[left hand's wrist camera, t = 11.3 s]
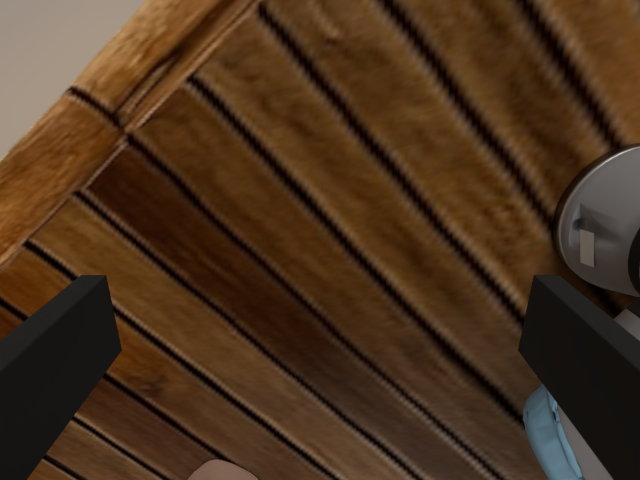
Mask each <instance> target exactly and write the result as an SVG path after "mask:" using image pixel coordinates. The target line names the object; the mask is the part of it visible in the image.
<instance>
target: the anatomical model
mask: <svg viewBox="0 0 640 480" xmlns="http://www.w3.org/2000/svg"><path fill="white" fill-rule="evenodd" d="M188 480H258V479H257V478H256V477H255V476H254V475H253V474H251V473H250V472H248V471H247V470H245V469H243V468H241V467H239V466H237V465H234V464H232V463H229V462H226V461H223V460H218V459H214V460H210V461H208V462H206V463H204V464H203V465H202V466H200V467H199V468H198V469H197V470H196V471H194V472H193V473H192V475H191V476H190V477H189V478H188Z"/></svg>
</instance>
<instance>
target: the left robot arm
mask: <svg viewBox="0 0 640 480" xmlns="http://www.w3.org/2000/svg"><path fill="white" fill-rule="evenodd" d="M553 235H554V243H555V246H556V250H557V252H558V254H559V256H560V258H561V260H562V261H563V262H564V264H565V265H566V266H567V267H568V268H569V269H570V270H571V271H573V272H574V273H575V274H577V275H578V276H579V277H581V278H582V279H584V280H585V281H587V282H589V283H591V284H594V285H596V286H598V287H601V288H604V289H608V290H612V291H616V292H620V293H624V294H628V295H632V296H636V297H639V298H637V299H636V300H635V301H634V302H633V303H632V304H631V305H630V306H628V307H627V308H626V309H624V310H623V311H622V312H621V313H620V314H619V315H618V316H617V317H615V318H614V319H612V318H611V317H610V316H608V315H607V314H606V313H605V312H603V311H602V310H601V309H600V308H599V307H597V306H596V305H595V304H594V303H592V302H591V301H590V300H589V299H587V298H586V297H585V296H584V295H583V294H581V293H580V292H579V291H578V290H576V289H575V288H574V287H573V286H572V285H570V284H569V283H568V282H567V281H565V280H564V279H563V278H562V277H560V276H559V275H534V277H533V282H532V287H531V292H530V296H529V301H528V306H527V311H526V315H525V320H524V325H523V330H522V334H521V339H520V344H519V349H518V351H519V352H520V353H521V355H522V356H523V358H524V359H525V360H526V362H527V363H528V364H529V366H530V367H531V368H532V370H533V371H534V372H535V374H536V375H537V377H538V378H539V379H540V381H541V382H542V384H541V385H540V386H539V387H538V388H537V389H536V390H535V391H534V392H533V393H532V394H531V395H530V396H529V397H528V399H527V400H526V402H525V405H524V409H523V421H524V424H525V431H526V434H527V437H528V440H529V443H530V445H531V448H532V450H533V452H534V454H535V456H536V458H537V460H538V462H539V464H540V466H541V467H542V469H543V471H544V473H545V474H546V476H547V477H548V479H549V480H640V143H636V144H631V145H627V146H624V147H621V148H618V149H615V150H613V151H611V152H609V153H607V154H605V155H603V156H601V157H600V158H598V159H597V160H595V161H594V162H592V163H591V164H590V165H588V166H587V167H586V168H585V169H584V170H583V171H582V172H581V173H580V174H579V175H578V176H577V177H576V178H575V179H574V180H573V182H572V183H571V184H570V186H569V187H568V188H567V190H566V191H565V193H564V195H563V197H562V199H561V201H560V203H559V205H558V208H557V211H556V215H555V219H554V227H553ZM121 351H122V349H121V344H120V339H119V334H118V330H117V325H116V320H115V315H114V311H113V306H112V301H111V296H110V292H109V287H108V282H107V277H106V275H81V276H80V277H78V278H77V279H76V280H75V281H73V282H72V283H71V284H70V285H68V286H67V287H66V288H65V289H64V290H62V291H61V292H60V293H59V294H57V295H56V296H55V297H54V298H53V299H51V300H50V301H49V302H48V303H46V304H45V305H44V306H43V307H41V308H40V309H39V310H38V311H37V312H35V313H34V314H33V315H32V316H30V317H29V318H28V319H27V320H25V321H24V322H23V323H22V324H21V325H19V326H18V327H17V328H16V329H14V330H13V331H12V332H11V333H9V334H8V335H7V336H6V337H5V338H3V339H2V340H1V341H0V480H27V478H28V477H29V476H30V474H31V473H32V472H33V470H34V469H35V468H36V466H37V465H38V464H39V462H40V461H41V459H42V458H43V457H44V455H45V454H46V453H47V451H48V450H49V449H50V447H51V446H52V444H53V443H54V442H55V440H56V439H57V438H58V436H59V435H60V434H61V432H62V431H63V430H64V428H65V427H66V425H67V424H68V423H69V421H70V420H71V419H72V417H73V416H74V415H75V413H76V412H77V411H78V409H79V408H80V406H81V405H82V404H83V402H84V401H85V400H86V398H87V397H88V396H89V394H90V393H91V391H92V390H93V389H94V387H95V386H96V385H97V383H98V382H99V381H100V379H101V378H102V377H103V375H104V374H105V372H106V371H107V370H108V368H109V367H110V366H111V364H112V363H113V362H114V360H115V359H116V358H117V356H118V355H119V353H120V352H121Z"/></svg>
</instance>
